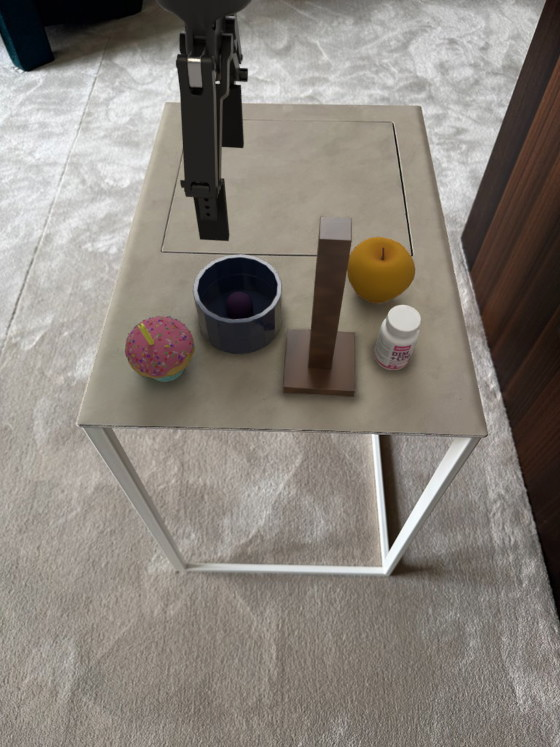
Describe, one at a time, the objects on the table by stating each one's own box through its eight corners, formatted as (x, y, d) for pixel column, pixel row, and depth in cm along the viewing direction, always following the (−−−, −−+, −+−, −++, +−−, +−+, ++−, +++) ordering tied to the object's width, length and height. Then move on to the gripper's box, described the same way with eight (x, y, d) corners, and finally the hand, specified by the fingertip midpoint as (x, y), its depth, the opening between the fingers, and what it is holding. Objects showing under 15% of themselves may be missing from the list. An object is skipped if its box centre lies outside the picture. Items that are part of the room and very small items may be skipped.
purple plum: (228, 330, 73) (225, 309, 69) (226, 309, 75) (223, 287, 71) (255, 327, 74) (253, 306, 70) (252, 306, 75) (250, 284, 72)
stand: (282, 392, 69) (284, 261, 48) (287, 334, 74) (290, 192, 53) (353, 397, 69) (385, 267, 48) (353, 338, 73) (382, 197, 53)
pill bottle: (389, 377, 70) (401, 340, 63) (366, 351, 72) (375, 313, 65) (417, 360, 72) (432, 322, 64) (394, 335, 74) (406, 295, 66)
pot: (194, 352, 72) (186, 320, 66) (206, 286, 78) (200, 251, 72) (278, 357, 72) (278, 325, 66) (284, 290, 78) (284, 256, 72)
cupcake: (182, 402, 68) (165, 349, 58) (121, 383, 70) (94, 328, 59) (208, 348, 72) (197, 290, 62) (150, 331, 74) (130, 271, 64)
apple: (416, 285, 78) (431, 239, 70) (390, 328, 74) (403, 285, 66) (359, 261, 81) (368, 214, 73) (331, 302, 77) (337, 257, 69)
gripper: (234, 32, 30) (248, 286, 48) (269, -135, 43) (270, 115, 61) (99, 26, 30) (164, 281, 48) (174, -139, 43) (203, 111, 61)
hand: (223, 188), depth 55 cm, fingers open, 13 cm apart
